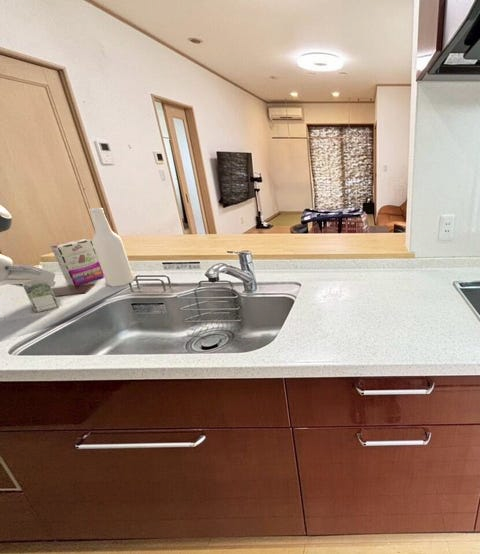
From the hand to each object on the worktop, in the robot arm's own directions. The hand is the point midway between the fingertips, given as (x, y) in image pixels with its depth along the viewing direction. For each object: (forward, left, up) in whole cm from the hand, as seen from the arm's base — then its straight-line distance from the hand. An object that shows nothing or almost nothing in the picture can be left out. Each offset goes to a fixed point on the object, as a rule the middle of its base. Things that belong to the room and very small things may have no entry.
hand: (38, 284), depth 98 cm
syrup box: (0, -1, -9) cm, 9 cm away
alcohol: (+16, +16, -9) cm, 24 cm away
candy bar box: (+2, +24, -9) cm, 25 cm away
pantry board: (0, +13, -8) cm, 16 cm away
